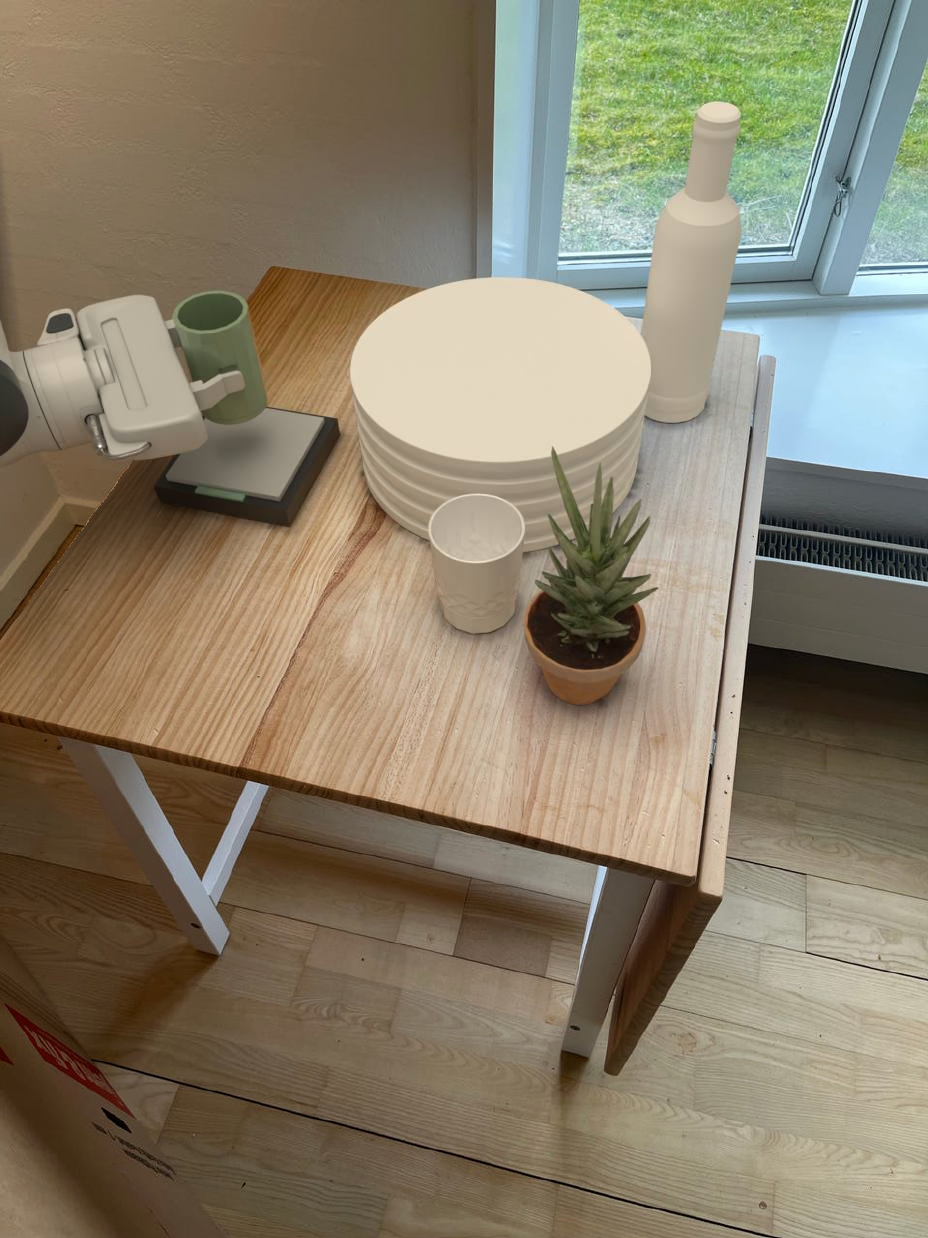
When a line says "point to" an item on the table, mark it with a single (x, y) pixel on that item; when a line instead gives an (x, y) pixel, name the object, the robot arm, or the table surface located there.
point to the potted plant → (588, 601)
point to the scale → (252, 466)
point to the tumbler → (222, 351)
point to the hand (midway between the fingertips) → (230, 351)
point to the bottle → (692, 271)
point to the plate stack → (499, 400)
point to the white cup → (477, 560)
